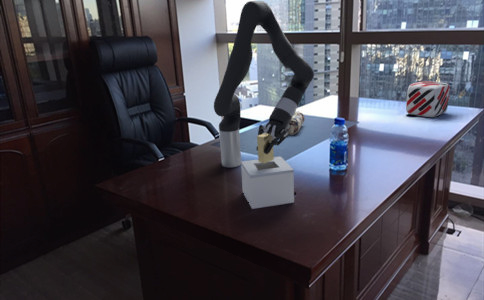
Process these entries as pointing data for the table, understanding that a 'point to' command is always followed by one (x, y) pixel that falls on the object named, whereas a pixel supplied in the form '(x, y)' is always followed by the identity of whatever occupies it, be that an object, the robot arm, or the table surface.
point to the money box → (267, 182)
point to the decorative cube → (427, 98)
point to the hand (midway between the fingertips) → (261, 151)
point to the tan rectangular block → (262, 142)
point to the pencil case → (295, 123)
